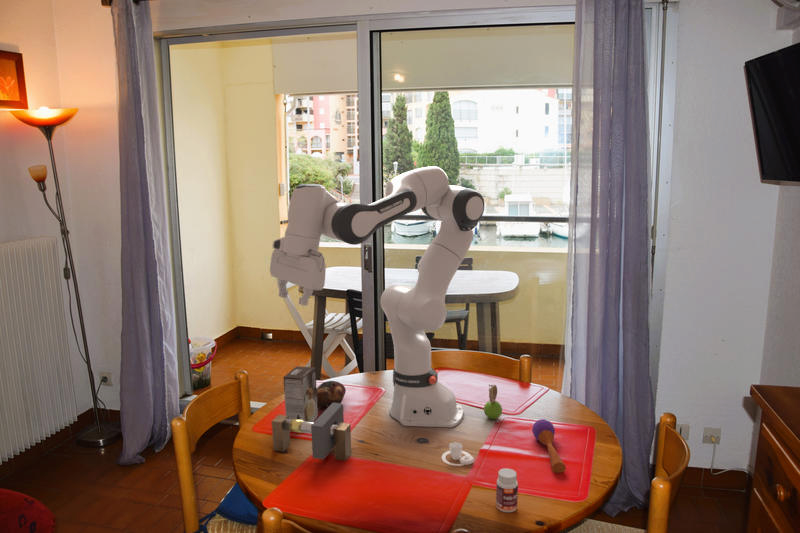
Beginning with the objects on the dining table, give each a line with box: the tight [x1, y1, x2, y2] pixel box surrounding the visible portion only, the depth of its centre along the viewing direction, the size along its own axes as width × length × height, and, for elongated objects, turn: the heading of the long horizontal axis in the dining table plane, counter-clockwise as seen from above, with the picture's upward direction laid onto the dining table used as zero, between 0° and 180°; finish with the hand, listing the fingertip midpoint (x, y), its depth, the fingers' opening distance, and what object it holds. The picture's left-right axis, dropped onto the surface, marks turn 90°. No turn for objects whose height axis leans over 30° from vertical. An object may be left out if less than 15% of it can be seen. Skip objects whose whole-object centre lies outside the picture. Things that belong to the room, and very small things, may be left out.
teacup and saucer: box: [440, 441, 475, 467], centre depth 153 cm, size 9×8×4 cm
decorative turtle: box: [316, 380, 347, 409], centre depth 185 cm, size 10×15×8 cm, turn 166°
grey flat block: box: [311, 402, 345, 460], centre depth 155 cm, size 3×14×9 cm, turn 164°
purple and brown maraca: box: [531, 418, 566, 474], centre depth 155 cm, size 6×6×20 cm
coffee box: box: [283, 365, 319, 422], centre depth 173 cm, size 9×6×16 cm
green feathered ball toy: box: [483, 384, 503, 420], centre depth 174 cm, size 5×6×12 cm
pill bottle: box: [495, 467, 519, 513], centre depth 131 cm, size 5×5×8 cm
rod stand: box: [271, 414, 352, 462], centre depth 157 cm, size 21×4×9 cm, turn 74°
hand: (292, 301), depth 149 cm, fingers open, 8 cm apart
